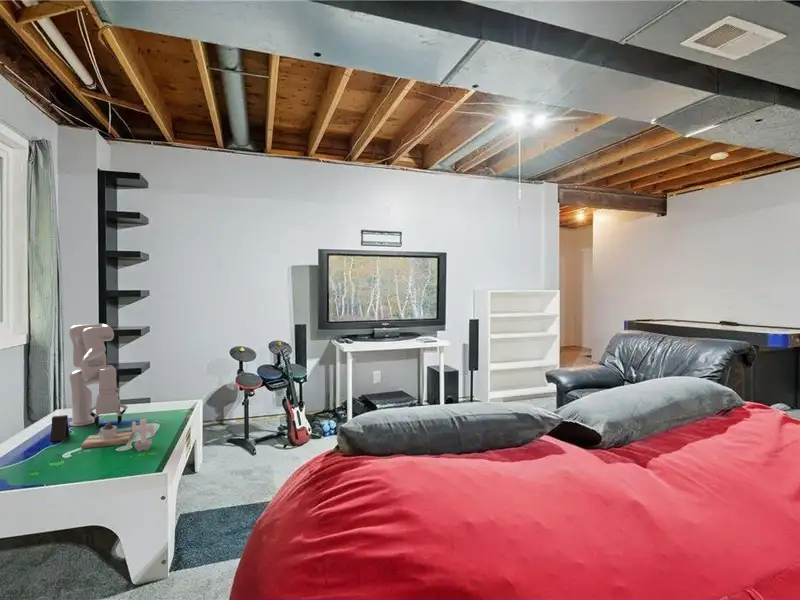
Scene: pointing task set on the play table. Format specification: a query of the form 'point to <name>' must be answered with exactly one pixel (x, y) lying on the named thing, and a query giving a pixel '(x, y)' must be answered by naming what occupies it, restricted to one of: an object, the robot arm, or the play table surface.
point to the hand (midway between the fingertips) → (108, 424)
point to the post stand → (96, 441)
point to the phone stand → (59, 428)
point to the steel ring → (108, 433)
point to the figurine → (143, 435)
